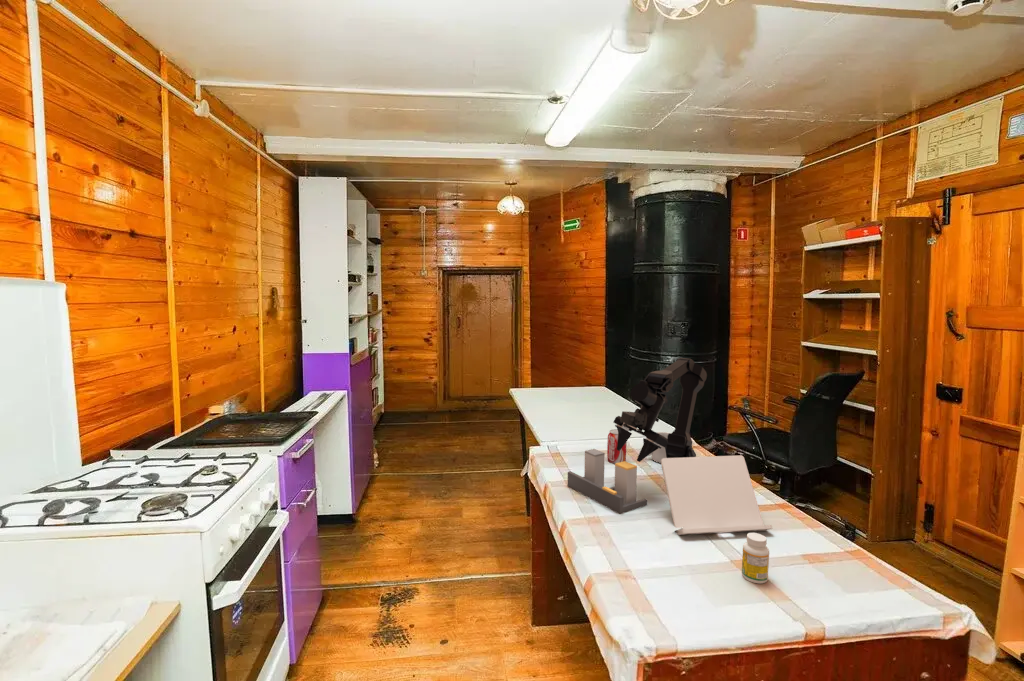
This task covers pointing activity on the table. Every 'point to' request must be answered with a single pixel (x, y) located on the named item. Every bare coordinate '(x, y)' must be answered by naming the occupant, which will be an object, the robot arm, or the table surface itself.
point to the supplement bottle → (755, 558)
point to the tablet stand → (711, 495)
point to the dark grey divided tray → (602, 494)
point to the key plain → (594, 466)
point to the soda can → (615, 448)
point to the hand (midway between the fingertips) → (627, 455)
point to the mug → (659, 450)
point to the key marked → (626, 481)
